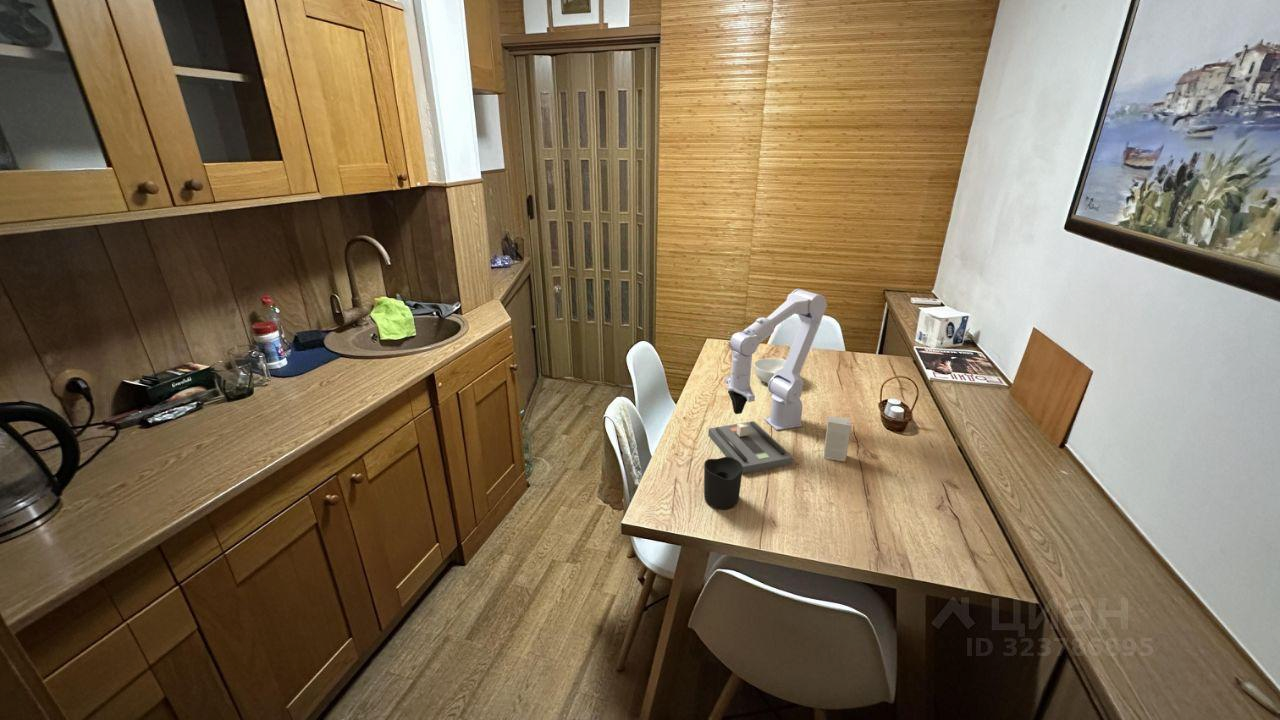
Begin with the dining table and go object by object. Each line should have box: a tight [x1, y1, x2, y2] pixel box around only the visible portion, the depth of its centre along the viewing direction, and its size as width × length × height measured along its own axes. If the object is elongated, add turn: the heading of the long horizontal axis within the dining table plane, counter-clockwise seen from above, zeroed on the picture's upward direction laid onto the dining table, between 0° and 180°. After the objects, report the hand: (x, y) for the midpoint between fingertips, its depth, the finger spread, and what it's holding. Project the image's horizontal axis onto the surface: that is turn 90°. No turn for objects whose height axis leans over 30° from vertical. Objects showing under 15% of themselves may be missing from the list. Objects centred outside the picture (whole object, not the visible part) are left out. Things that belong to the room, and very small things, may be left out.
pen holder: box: [703, 456, 743, 510], centre depth 124 cm, size 9×9×10 cm
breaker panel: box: [708, 420, 794, 475], centre depth 147 cm, size 16×22×4 cm
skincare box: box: [823, 415, 852, 462], centre depth 141 cm, size 6×4×12 cm
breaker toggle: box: [736, 422, 749, 437], centre depth 149 cm, size 3×2×3 cm
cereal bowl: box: [753, 357, 788, 385], centre depth 192 cm, size 17×17×7 cm
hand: (737, 412), depth 151 cm, fingers closed
